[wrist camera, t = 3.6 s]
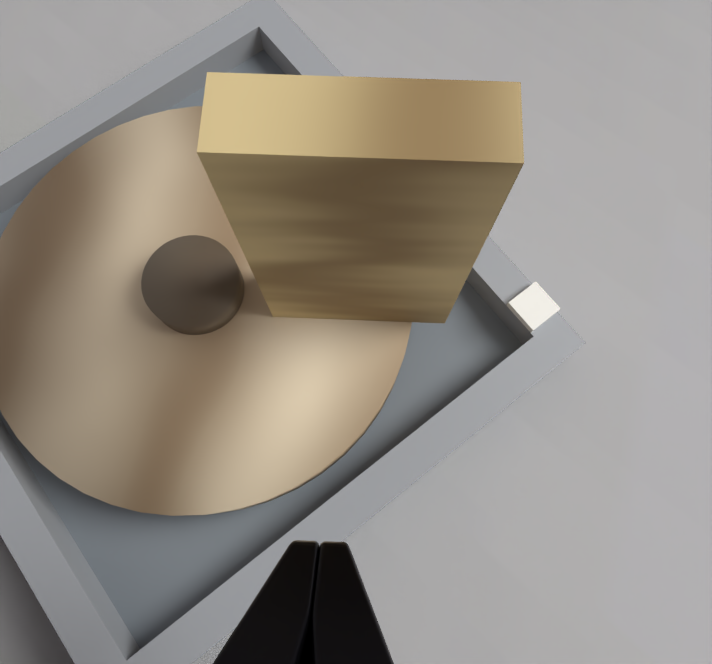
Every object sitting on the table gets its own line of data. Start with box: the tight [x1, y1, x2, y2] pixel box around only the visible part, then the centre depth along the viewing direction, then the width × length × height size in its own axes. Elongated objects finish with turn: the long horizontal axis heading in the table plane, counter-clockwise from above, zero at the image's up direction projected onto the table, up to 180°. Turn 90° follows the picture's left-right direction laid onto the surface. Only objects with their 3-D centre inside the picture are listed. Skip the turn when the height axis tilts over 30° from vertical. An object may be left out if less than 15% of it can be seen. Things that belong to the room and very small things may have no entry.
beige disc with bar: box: [0, 72, 524, 516], centre depth 16 cm, size 15×14×11 cm
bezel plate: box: [0, 0, 586, 664], centre depth 21 cm, size 18×18×2 cm
